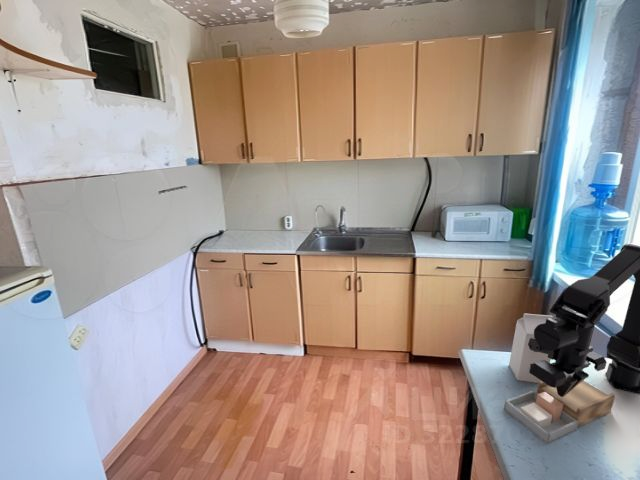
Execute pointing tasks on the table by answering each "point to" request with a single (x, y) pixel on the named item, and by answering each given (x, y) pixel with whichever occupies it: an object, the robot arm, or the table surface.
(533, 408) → the tile
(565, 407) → the wooden box
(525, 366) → the milk carton
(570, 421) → the tray
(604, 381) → the table surface
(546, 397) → the tile
